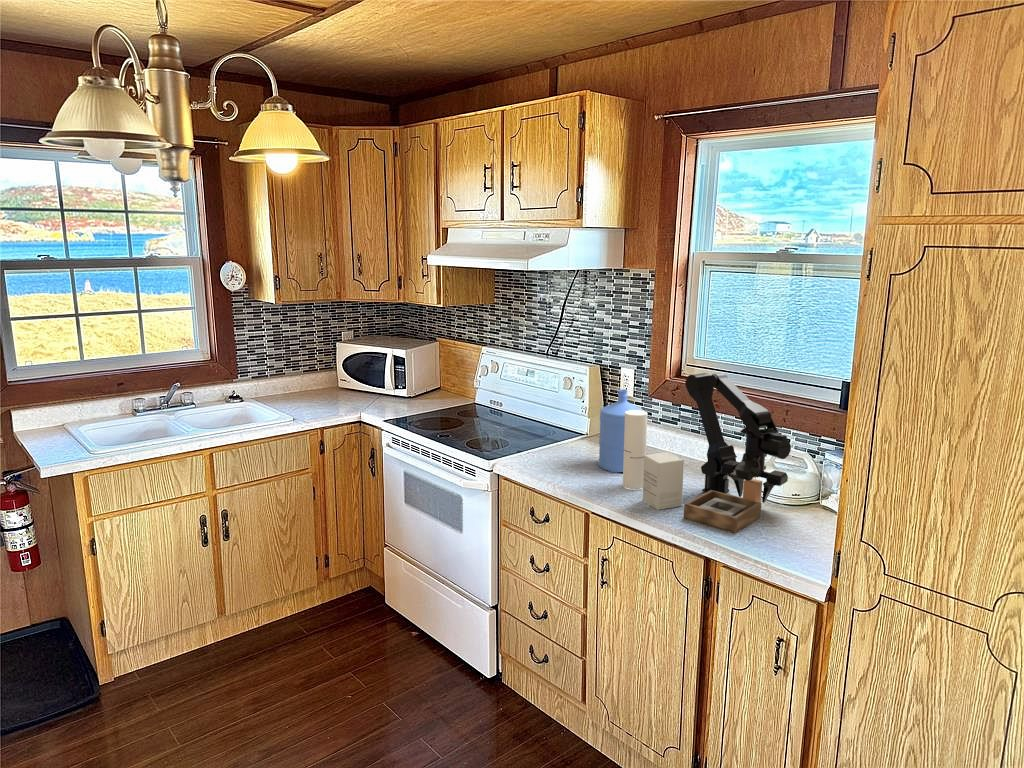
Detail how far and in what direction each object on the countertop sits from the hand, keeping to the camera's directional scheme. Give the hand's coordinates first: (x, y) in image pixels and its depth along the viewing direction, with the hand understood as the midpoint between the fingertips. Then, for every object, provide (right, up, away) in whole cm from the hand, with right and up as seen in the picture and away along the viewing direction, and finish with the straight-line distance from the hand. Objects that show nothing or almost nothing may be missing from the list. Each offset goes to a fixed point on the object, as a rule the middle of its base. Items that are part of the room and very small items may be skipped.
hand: (751, 499), depth 212 cm
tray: (-12, -4, -9) cm, 15 cm away
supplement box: (-27, -2, +3) cm, 27 cm away
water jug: (-34, +5, +38) cm, 51 cm away
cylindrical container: (-33, +1, +18) cm, 37 cm away
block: (0, -2, 0) cm, 2 cm away
